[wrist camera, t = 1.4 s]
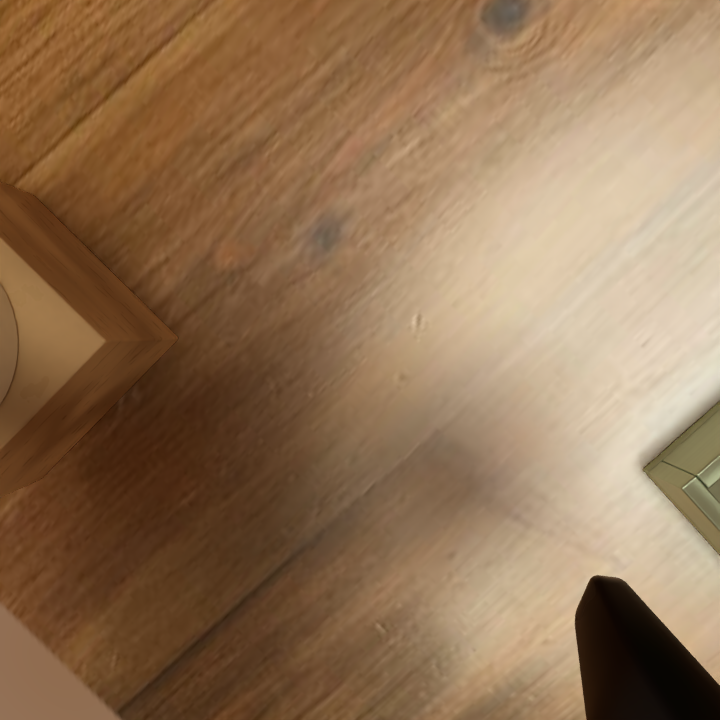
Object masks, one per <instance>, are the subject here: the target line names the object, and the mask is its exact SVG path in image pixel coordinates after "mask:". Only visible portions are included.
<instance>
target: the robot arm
mask: <svg viewBox="0 0 720 720" xmlns="http://www.w3.org/2000/svg"><path fill="white" fill-rule="evenodd" d="M575 630H576V638H577V646H578V654H579V663H580V671H581V679H582V687H583V695H584V703H585V711H586V719H587V720H720V685H719V684H718V683H717V682H716V681H715V680H714V679H713V678H712V677H711V675H710V674H709V673H708V672H707V671H706V670H705V669H704V668H703V667H702V666H701V664H700V663H699V662H698V661H697V660H696V659H695V658H694V657H693V656H692V655H691V653H690V652H689V651H688V650H687V649H686V648H685V647H684V646H683V645H682V644H681V642H680V641H679V640H678V639H677V638H676V637H675V636H674V635H673V634H672V633H671V631H670V630H669V629H668V628H667V627H666V626H665V625H664V624H663V623H662V622H661V620H660V619H659V618H658V617H657V616H656V615H655V614H654V613H653V612H652V611H651V609H650V608H649V607H648V606H647V605H646V604H645V603H644V602H643V601H642V600H641V598H640V597H639V596H638V595H637V594H636V593H635V592H634V591H633V590H632V589H631V587H630V586H629V585H628V584H627V583H626V582H625V581H623V580H622V579H620V578H616V577H608V576H599V575H596V576H593V577H592V578H591V579H590V581H589V583H588V585H587V587H586V589H585V592H584V594H583V596H582V599H581V601H580V603H579V605H578V608H577V610H576V615H575Z"/></svg>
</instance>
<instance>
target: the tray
mask: <svg viewBox="0 0 720 720" xmlns="http://www.w3.org/2000/svg"><path fill="white" fill-rule="evenodd" d="M643 470H644V472H645V473H646V474H647V475H648V476H649V477H650V478H651V479H652V481H653V482H654V483H655V484H656V485H657V486H658V487H659V488H660V489H661V490H662V492H663V493H664V494H665V495H666V496H667V497H668V498H669V499H670V500H671V501H672V503H673V504H674V505H675V506H676V507H677V508H678V509H679V510H680V511H681V513H682V514H683V515H684V516H685V517H686V518H687V519H688V520H689V521H690V522H691V524H692V525H693V526H694V527H695V528H696V529H697V530H698V531H699V532H700V533H701V535H702V536H703V537H704V538H705V539H706V540H707V541H708V542H709V543H710V545H711V546H712V547H713V548H714V549H715V550H716V551H717V552H718V553H719V554H720V402H718V403H717V404H716V405H715V406H714V407H713V408H712V409H711V410H709V411H708V412H707V413H706V414H705V415H704V416H703V417H702V418H700V419H699V420H698V421H697V422H696V423H695V424H694V425H693V426H691V427H690V428H689V429H688V430H687V431H686V432H685V433H684V434H682V435H681V436H680V437H679V438H678V439H677V440H676V441H675V442H673V443H672V444H671V445H670V446H669V447H668V448H667V449H665V450H664V451H663V452H662V453H661V454H660V455H659V456H658V457H656V458H655V459H654V460H653V461H652V462H651V463H650V464H649V465H647V466H646V467H645V468H644V469H643Z"/></svg>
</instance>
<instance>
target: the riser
mask: <svg viewBox="0 0 720 720" xmlns="http://www.w3.org/2000/svg"><path fill="white" fill-rule="evenodd" d="M0 284H1V286H2V287H3V289H4V291H5V293H6V294H7V297H8V299H9V302H10V304H11V307H12V309H13V313H14V317H15V321H16V326H17V334H18V355H17V362H16V368H15V372H14V375H13V379H12V382H11V384H10V387H9V389H8V392H7V394H6V396H5V397H4V399H3V401H2V402H1V404H0V498H1V497H3V496H5V495H7V494H10V493H12V492H14V491H16V490H18V489H20V488H23V487H25V486H27V485H29V484H31V483H34V482H36V481H38V480H40V479H42V478H43V477H44V476H45V475H46V474H47V473H48V472H49V471H50V470H51V469H52V468H53V467H54V466H55V465H56V464H57V462H58V461H59V460H60V459H61V458H62V457H63V456H64V455H65V454H66V453H67V452H68V451H69V450H70V449H71V448H72V447H73V446H74V445H75V444H76V443H77V442H78V441H79V440H80V439H81V438H82V437H83V436H84V435H85V434H86V433H87V432H88V431H89V430H90V429H91V428H92V427H93V426H94V425H95V424H96V423H97V422H98V421H99V420H100V419H101V418H102V417H103V416H104V415H105V413H106V412H107V411H108V410H109V409H110V408H111V407H112V406H113V405H114V404H115V403H116V402H117V401H118V400H119V399H120V398H121V397H122V396H123V395H124V394H125V393H126V392H127V391H128V390H129V389H130V388H131V387H132V386H133V385H134V384H135V383H136V382H137V381H138V380H139V379H140V378H141V377H142V376H143V375H144V374H145V373H146V372H147V371H148V370H149V369H150V368H151V367H152V366H153V364H154V363H155V362H156V361H157V360H158V359H159V358H160V357H161V356H162V355H163V354H164V353H165V352H166V351H167V350H168V349H169V348H170V347H171V346H172V345H173V344H174V343H175V342H176V341H177V340H178V337H177V336H176V335H175V334H174V333H173V332H172V331H171V330H170V329H169V328H168V327H167V326H166V325H165V324H164V323H163V322H162V321H161V320H160V319H159V318H158V317H157V316H156V315H155V314H154V313H153V312H152V311H151V310H150V309H149V308H148V307H147V306H146V305H145V304H144V303H143V302H142V301H141V300H140V299H139V298H138V297H137V296H136V295H135V294H133V293H132V292H131V291H130V290H129V289H128V288H127V287H126V286H125V285H124V284H123V283H122V282H121V281H120V280H119V279H118V278H117V277H116V276H115V275H114V274H113V273H112V272H111V271H110V270H109V269H108V268H107V267H106V266H105V265H104V264H103V263H102V262H101V261H100V260H99V259H98V258H97V257H96V256H95V255H94V254H93V253H92V252H91V251H90V250H89V249H88V248H87V247H86V246H85V245H84V244H83V243H82V242H81V241H80V240H79V239H78V238H77V237H76V236H75V235H74V234H73V233H72V232H70V231H69V230H68V229H67V228H66V227H65V226H64V225H63V224H62V223H61V222H60V221H59V220H58V219H57V218H56V217H55V216H54V215H53V214H52V213H51V212H50V211H49V210H48V209H47V208H46V207H45V206H44V205H43V204H42V203H41V202H40V201H39V200H38V199H37V198H36V197H35V196H34V195H31V194H29V193H27V192H24V191H22V190H19V189H17V188H15V187H12V186H10V185H7V184H5V183H2V182H0Z"/></svg>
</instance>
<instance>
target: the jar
mask: <svg viewBox="0 0 720 720" xmlns="http://www.w3.org/2000/svg"><path fill="white" fill-rule="evenodd" d="M17 355H18V334H17V326H16V321H15V317H14V313H13V309H12V307H11V304H10V302H9V299H8V297H7V294H6V293H5V291H4V289H3V287H2V286H1V284H0V404H1V402H2V401H3V399H4V397H5V396H6V394H7V392H8V389H9V387H10V384H11V382H12V379H13V375H14V372H15V368H16V362H17Z"/></svg>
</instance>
